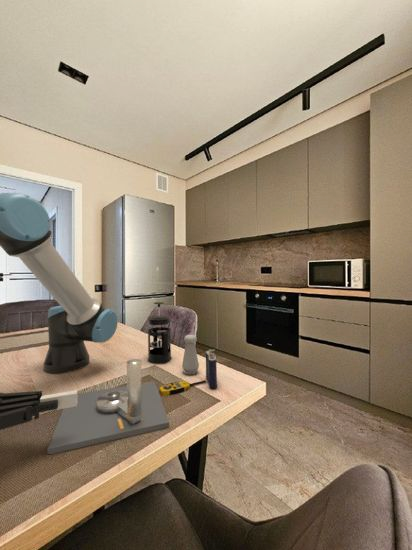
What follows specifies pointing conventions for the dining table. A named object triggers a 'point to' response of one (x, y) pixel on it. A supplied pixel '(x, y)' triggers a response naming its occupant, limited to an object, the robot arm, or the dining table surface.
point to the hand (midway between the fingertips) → (76, 398)
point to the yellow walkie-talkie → (176, 387)
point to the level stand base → (105, 420)
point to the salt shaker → (190, 355)
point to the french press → (163, 347)
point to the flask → (211, 369)
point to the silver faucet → (125, 395)
